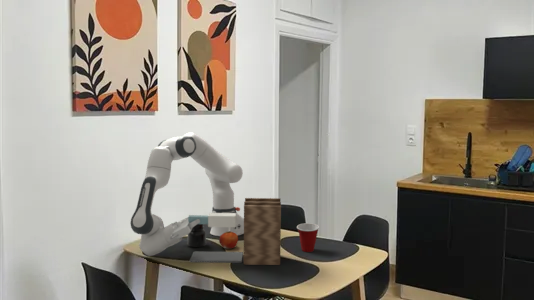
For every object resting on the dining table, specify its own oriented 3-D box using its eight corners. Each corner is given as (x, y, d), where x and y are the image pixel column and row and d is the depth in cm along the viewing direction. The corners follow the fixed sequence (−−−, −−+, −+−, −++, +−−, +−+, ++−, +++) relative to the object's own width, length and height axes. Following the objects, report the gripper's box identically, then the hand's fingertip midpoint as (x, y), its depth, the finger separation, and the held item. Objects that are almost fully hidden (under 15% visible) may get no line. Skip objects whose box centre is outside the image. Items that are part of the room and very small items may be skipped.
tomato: (235, 251, 241) (235, 234, 240) (216, 249, 243) (216, 233, 242) (240, 245, 250) (240, 229, 249) (222, 244, 252) (222, 228, 251)
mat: (189, 262, 224) (189, 260, 224) (193, 253, 237) (193, 251, 237) (241, 262, 224) (241, 260, 224) (243, 253, 237) (243, 251, 237)
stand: (243, 264, 222) (243, 203, 219) (245, 254, 236) (245, 196, 233) (280, 264, 222) (281, 203, 219) (279, 254, 236) (280, 197, 233)
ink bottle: (208, 242, 254) (208, 219, 253) (204, 248, 245) (204, 223, 244) (189, 242, 255) (189, 218, 254) (184, 247, 246) (184, 223, 245)
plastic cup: (292, 251, 241) (292, 227, 240) (301, 245, 251) (302, 222, 249) (313, 255, 236) (314, 230, 235) (322, 249, 246) (322, 224, 244)
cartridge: (187, 226, 224) (187, 215, 224) (189, 223, 230) (189, 212, 230) (235, 227, 224) (235, 216, 224) (236, 223, 230) (236, 213, 230)
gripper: (165, 233, 217) (193, 218, 216) (174, 222, 237) (199, 207, 237) (173, 246, 218) (200, 230, 217) (181, 233, 238) (206, 219, 237)
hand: (200, 218), depth 227 cm, fingers closed on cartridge, 3 cm apart
